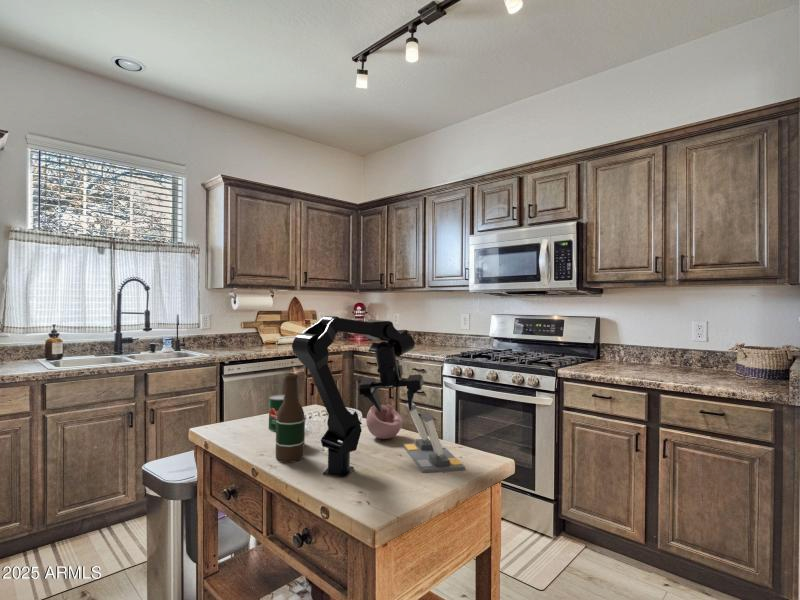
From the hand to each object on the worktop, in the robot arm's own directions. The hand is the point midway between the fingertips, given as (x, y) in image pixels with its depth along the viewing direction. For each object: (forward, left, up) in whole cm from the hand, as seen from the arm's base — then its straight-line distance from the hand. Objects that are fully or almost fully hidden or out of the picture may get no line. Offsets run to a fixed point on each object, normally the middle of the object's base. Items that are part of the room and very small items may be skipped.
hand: (395, 411), depth 135 cm
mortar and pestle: (+13, +7, -13) cm, 20 cm away
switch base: (0, -11, -13) cm, 17 cm away
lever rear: (+6, -8, -9) cm, 14 cm away
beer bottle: (-13, +28, -13) cm, 33 cm away
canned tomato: (+14, +45, -13) cm, 49 cm away
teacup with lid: (-2, +34, -13) cm, 36 cm away
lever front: (-7, -14, -9) cm, 18 cm away
